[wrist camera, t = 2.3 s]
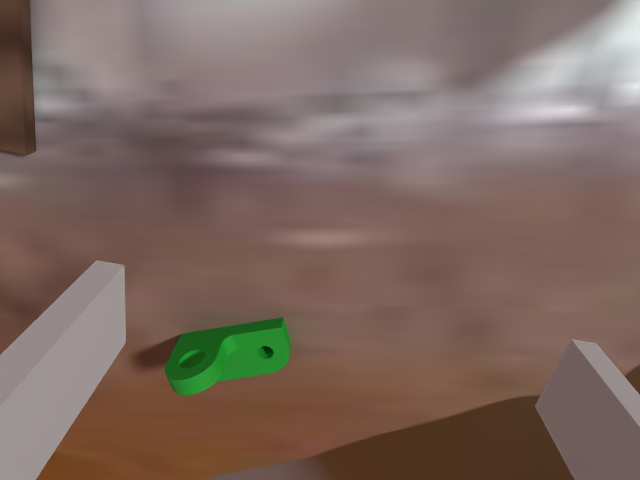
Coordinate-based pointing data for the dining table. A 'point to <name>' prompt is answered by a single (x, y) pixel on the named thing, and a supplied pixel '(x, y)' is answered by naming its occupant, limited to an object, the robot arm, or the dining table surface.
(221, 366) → the mechanical part
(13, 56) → the board
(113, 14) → the dining table surface
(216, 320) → the dining table surface
